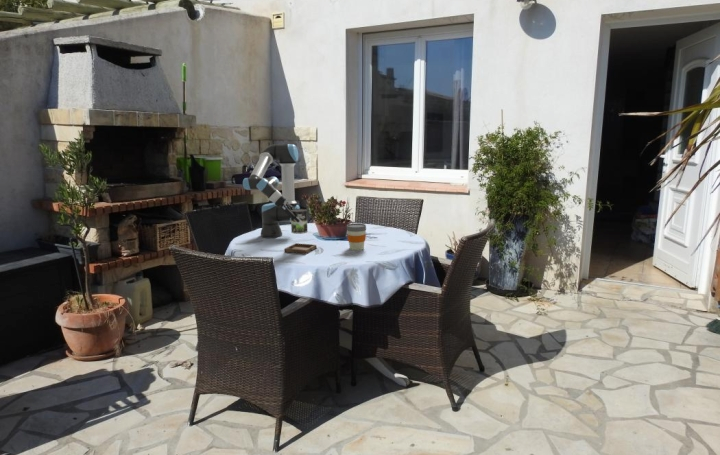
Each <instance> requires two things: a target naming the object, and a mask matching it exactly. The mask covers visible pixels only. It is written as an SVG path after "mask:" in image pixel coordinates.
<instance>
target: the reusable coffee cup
mask: <svg viewBox="0 0 720 455" xmlns="http://www.w3.org/2000/svg"><path fill="white" fill-rule="evenodd" d="M366 230H367V225H366V224H364V223H358V222H357V223H350V224H349V223H348V224H346V232H347V233H346V235H347V241H348V245H349V250H352V251H361V250H364V248H365V242H366V238H367V233H366Z"/></svg>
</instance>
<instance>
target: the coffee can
mask: <svg viewBox="0 0 720 455" xmlns="http://www.w3.org/2000/svg"><path fill="white" fill-rule="evenodd" d="M291 211H292V212H293V213H294V214H295V215H296V217H298V218H299V219H300V220H301V221H302V222H304V223H305V224H304V225H303V226H302V227H301V226H300V225H299V224H298V223H297V222H296V221H295V220H292V219H291V222H290V228H291V229H290V230H291V234H295V235H297V234H298V235H304V234H307V233H308V232H309V231H308V209H306V208H300V209H293V210H291Z"/></svg>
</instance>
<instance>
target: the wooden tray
mask: <svg viewBox="0 0 720 455" xmlns="http://www.w3.org/2000/svg"><path fill="white" fill-rule="evenodd" d="M317 249H318V248H317V244H311V243H299V242H298V243H297V242H295V243H293V244H291V245H289V246H287V247H285V248H284V251H283V252H284V253H287V254H297V255H307V254H309V253H311V252H313V251H315V250H317Z"/></svg>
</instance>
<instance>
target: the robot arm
mask: <svg viewBox="0 0 720 455" xmlns="http://www.w3.org/2000/svg"><path fill="white" fill-rule="evenodd" d="M298 161H299V149H298V147H297V145H295V144H291V143H287V144H286V143H285V144H283V143H281V144H276V143H275V144H271V145H269V146H267V147H265V148H264V149H263V150H262V151H261V152H260V154H259V159H258V161H257V163H256V164H255V167H254V168H253V170H252V172H251V174H250V176H249V177H244V179H243V180H242V186H243V189H244V190H247V191H252V190H253V191H259V192H261V194H263V195H265V196H266V197H267V198H268V199H269V201H270V202H271V203H266V204H263V205H262V206H261V219H262V221H261V222H262V226H261V230H260V237H261V238H265V239H271V238H272V239H273V238H279V237H282V236H283V231H282V228H281V227H280V222H285V223H286V222H287V223H288V222H289V223H291V219H292V220H295V221H296V222H297V223H298V224H299V225H300V226H301V227H302V226H303V225H304V224H305V223H304V222H302V221H301V220H300V219H299V218H298V217H296V215H295V214H294V213H293V212H292V211H291V210H293V209H301V207H300V205H299V204H298V202H297V201H296V200H295V199H296V197H295V196H296V195H295V194H296V193H295V166H296V164H297V162H298ZM273 162H278V164H279V166H280V167H281V191H282V192H280V191H279V190H278V189H277V188H278V187H279V185H280V181H279V178H277V177H276V176H270V177H264V175H265V174H266V172H267V170H268V168H269V167H270V164H271V165H272V164H273Z"/></svg>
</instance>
